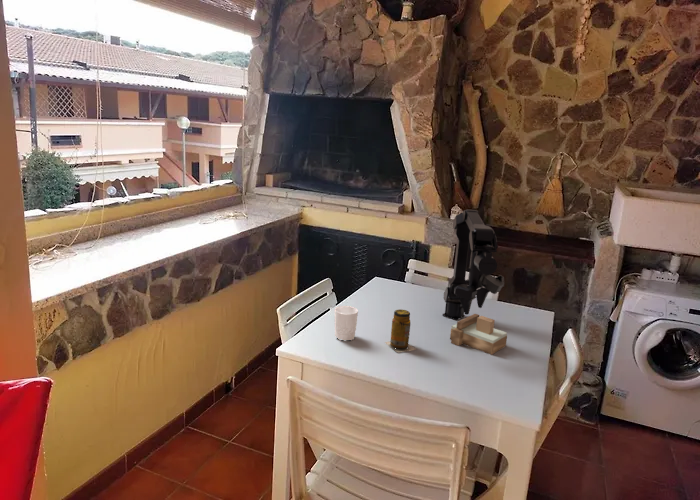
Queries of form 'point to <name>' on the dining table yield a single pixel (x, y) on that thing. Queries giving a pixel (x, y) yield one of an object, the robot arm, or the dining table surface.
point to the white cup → (345, 322)
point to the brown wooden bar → (467, 321)
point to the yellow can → (400, 331)
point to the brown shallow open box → (476, 342)
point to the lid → (483, 330)
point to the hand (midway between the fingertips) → (473, 310)
